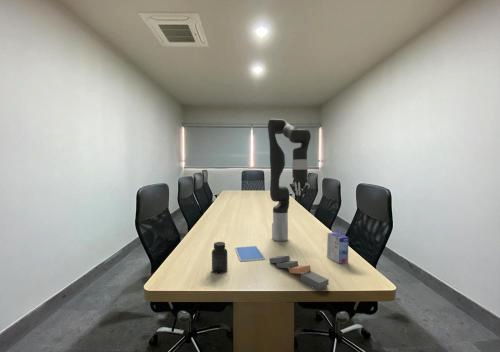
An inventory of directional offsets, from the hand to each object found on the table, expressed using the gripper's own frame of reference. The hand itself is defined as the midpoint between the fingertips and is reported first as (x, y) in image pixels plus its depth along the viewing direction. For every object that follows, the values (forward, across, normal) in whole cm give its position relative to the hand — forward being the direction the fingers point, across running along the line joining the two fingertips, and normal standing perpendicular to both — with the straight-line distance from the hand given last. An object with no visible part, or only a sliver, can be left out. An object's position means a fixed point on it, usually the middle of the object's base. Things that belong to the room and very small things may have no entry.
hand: (300, 202), depth 120 cm
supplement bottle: (+27, +8, +42) cm, 51 cm away
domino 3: (+26, -12, +17) cm, 33 cm away
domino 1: (+26, +2, +17) cm, 31 cm away
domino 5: (+27, -20, +18) cm, 38 cm away
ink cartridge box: (+27, -15, -10) cm, 33 cm away
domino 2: (+26, -4, +17) cm, 31 cm away
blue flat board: (+28, +17, +20) cm, 38 cm away
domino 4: (+25, -21, +19) cm, 37 cm away
